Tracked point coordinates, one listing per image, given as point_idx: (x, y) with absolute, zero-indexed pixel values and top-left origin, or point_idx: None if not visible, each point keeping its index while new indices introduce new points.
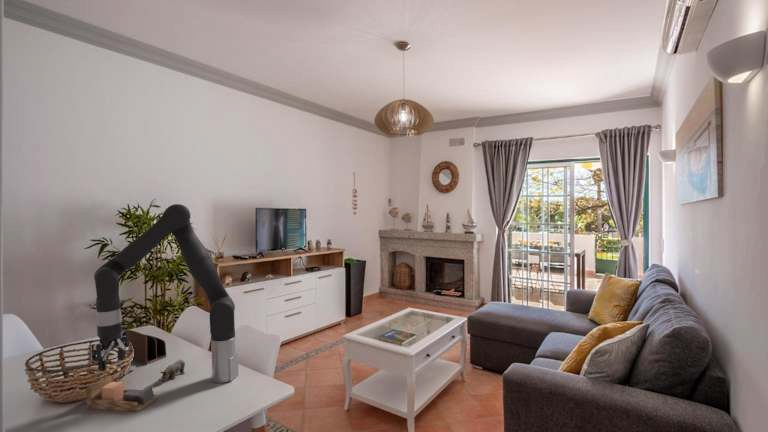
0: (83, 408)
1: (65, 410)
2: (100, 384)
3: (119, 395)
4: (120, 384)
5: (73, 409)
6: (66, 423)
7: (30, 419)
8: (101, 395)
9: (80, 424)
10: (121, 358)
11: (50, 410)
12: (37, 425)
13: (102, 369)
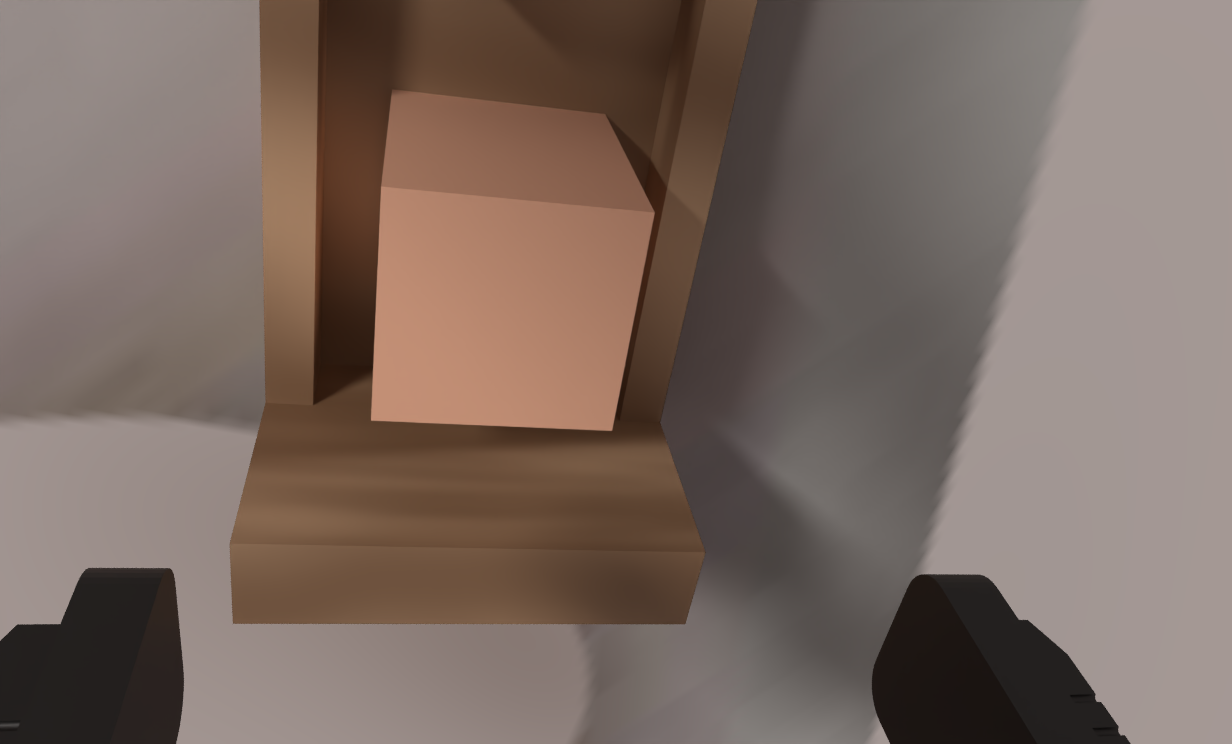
0: None
1: None
2: (508, 524)
3: (489, 121)
4: (455, 191)
5: None
6: (934, 405)
7: (788, 731)
8: None
9: (997, 243)
10: (152, 666)
11: (643, 706)
12: None
13: (1035, 634)
